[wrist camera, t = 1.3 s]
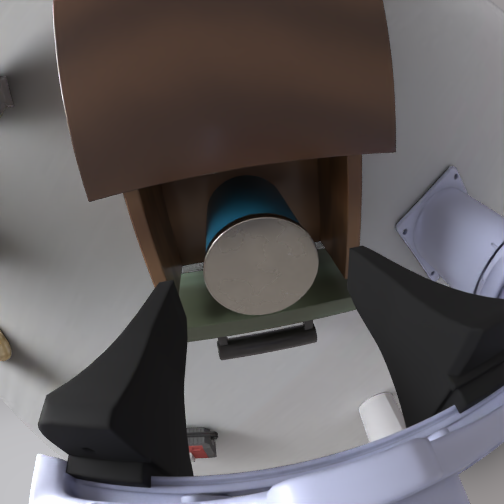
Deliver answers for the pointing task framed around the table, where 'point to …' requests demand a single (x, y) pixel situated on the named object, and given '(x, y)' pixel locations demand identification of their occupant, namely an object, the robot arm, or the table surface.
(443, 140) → the table surface
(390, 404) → the white cup
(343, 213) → the drawer
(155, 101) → the cabinet
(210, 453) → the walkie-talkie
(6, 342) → the hand bell
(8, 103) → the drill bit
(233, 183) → the tin
